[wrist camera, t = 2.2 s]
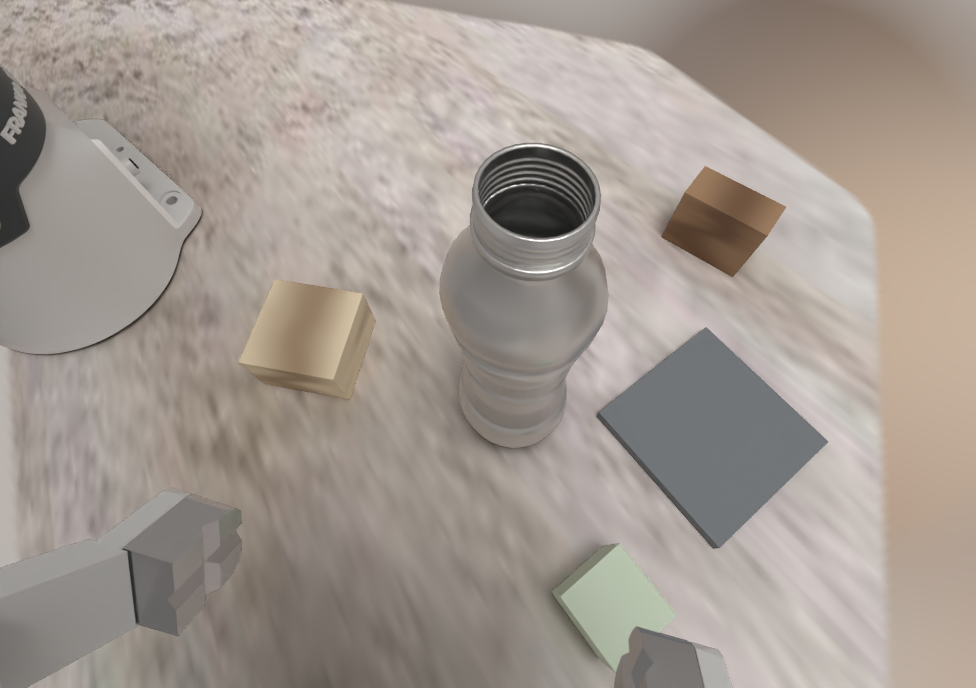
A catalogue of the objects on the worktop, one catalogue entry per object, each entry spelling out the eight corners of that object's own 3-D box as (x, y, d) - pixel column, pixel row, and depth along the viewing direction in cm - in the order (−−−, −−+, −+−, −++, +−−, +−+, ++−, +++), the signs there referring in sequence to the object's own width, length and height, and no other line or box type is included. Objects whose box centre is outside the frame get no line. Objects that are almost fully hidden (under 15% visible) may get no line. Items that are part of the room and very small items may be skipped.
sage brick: (550, 591, 27) (560, 596, 23) (603, 545, 28) (619, 543, 24) (599, 658, 26) (616, 674, 22) (651, 607, 27) (677, 614, 23)
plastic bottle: (506, 477, 30) (531, 341, 11) (440, 397, 32) (373, 175, 14) (581, 413, 31) (707, 205, 13) (513, 340, 34) (541, 77, 15)
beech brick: (266, 384, 32) (238, 362, 29) (297, 308, 35) (274, 279, 31) (351, 400, 32) (333, 379, 28) (376, 322, 34) (362, 293, 31)
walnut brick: (661, 237, 37) (684, 192, 33) (679, 213, 38) (705, 166, 34) (732, 277, 36) (767, 235, 31) (749, 251, 37) (786, 207, 32)
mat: (596, 415, 31) (599, 412, 30) (701, 332, 34) (706, 327, 33) (713, 548, 28) (719, 547, 27) (820, 444, 30) (828, 441, 30)
